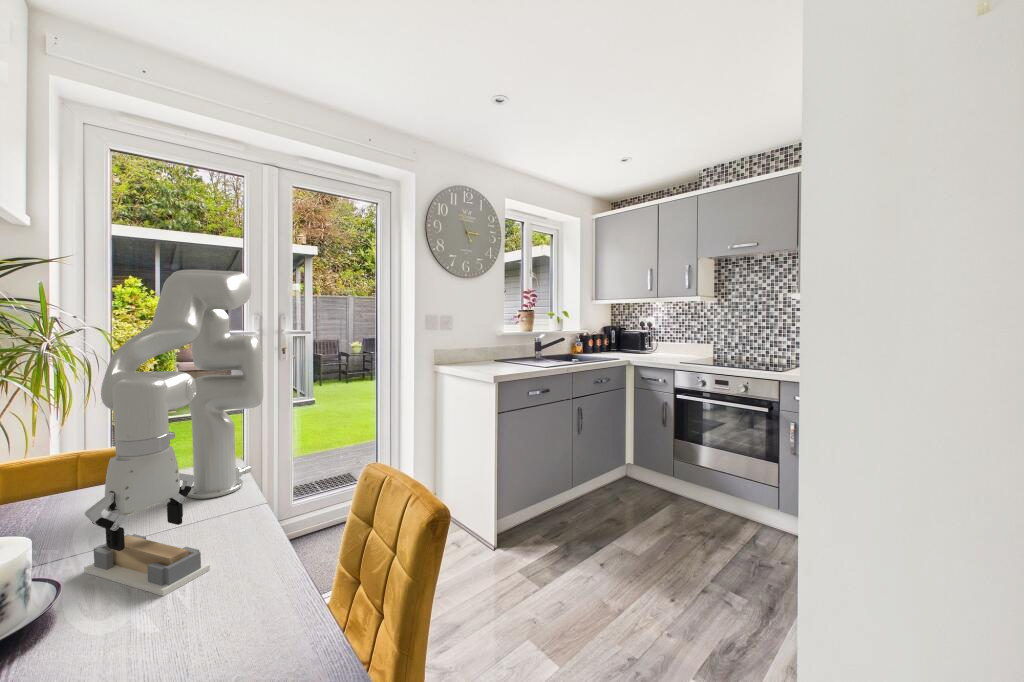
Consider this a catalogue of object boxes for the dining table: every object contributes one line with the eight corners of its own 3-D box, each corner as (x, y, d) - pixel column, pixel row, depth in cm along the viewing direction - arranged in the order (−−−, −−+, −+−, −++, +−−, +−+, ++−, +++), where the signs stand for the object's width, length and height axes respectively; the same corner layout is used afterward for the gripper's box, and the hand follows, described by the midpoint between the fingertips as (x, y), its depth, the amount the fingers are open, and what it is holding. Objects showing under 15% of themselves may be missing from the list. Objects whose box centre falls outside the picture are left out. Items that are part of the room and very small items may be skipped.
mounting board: (134, 550, 87) (133, 531, 87) (209, 570, 80) (209, 549, 80) (84, 572, 79) (83, 551, 79) (163, 596, 73) (162, 573, 72)
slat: (129, 555, 83) (128, 535, 83) (188, 571, 78) (187, 549, 78) (111, 563, 80) (110, 543, 80) (171, 580, 75) (170, 558, 75)
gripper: (178, 431, 88) (181, 511, 89) (69, 458, 72) (75, 556, 73) (204, 434, 86) (207, 517, 87) (98, 463, 69) (104, 565, 70)
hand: (147, 535), depth 80 cm, fingers open, 9 cm apart
